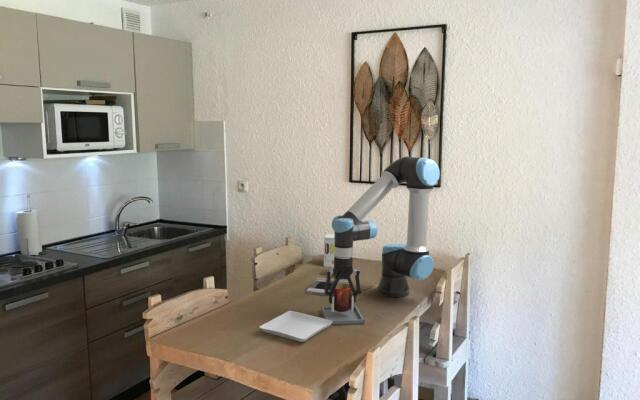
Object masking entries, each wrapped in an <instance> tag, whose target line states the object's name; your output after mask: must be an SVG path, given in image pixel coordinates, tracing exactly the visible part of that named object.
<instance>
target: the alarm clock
mask: <svg viewBox="0 0 640 400" xmlns="http://www.w3.org/2000/svg"><path fill="white" fill-rule="evenodd" d="M326 279H327V278H321V277H317V279H316V280H315V281H314V282H313V283H312V284H311V285H310V286H309V287H308V288H307V290H306V293H307V294H310V295H311V294H312V295H316V296H317V295H318V296H326V297H329V295H326V294H325V292H324V291H325V285H326ZM333 282H334V279H332V278H331V279H330V286H329V291H330V289H331V285H332V284H333ZM338 283H348V284H349V282H348V280H341V279H340V280H339V282H338Z"/></svg>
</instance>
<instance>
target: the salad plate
mask: <svg viewBox="0 0 640 400" xmlns="http://www.w3.org/2000/svg"><path fill="white" fill-rule="evenodd" d="M331 324H332V321H331V320H327V319H325V318H324V317H319V316H315V315H311V314H308V313H303V312H298V311H294V310H288V311H286V312H284V313H283V314H279V315H278V316H277V317H275V318H273V319H271V320H269V321H267V322H265V323H263V324H261V325H260V326H259V329H260V330H261V331H263V332H264V333H267V334H271V335H273V336H276V337H277V336H278V337H282V338H285V339H289V340H293V341H296V342H300V343H302V342H306V341H308V340H309V339H310V338H312V337H313V336H315V335H317V334H319V333H320V332H322V331H323V330H325V329H326V328H328V327H330V325H331Z"/></svg>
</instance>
